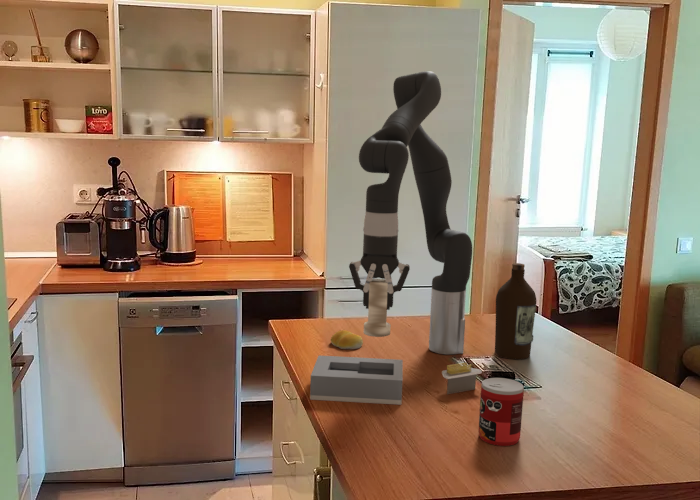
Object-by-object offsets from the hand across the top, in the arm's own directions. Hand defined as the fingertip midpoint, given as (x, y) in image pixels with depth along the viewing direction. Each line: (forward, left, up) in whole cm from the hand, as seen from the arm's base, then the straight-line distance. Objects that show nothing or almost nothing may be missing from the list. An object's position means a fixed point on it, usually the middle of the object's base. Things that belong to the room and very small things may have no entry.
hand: (377, 308), depth 151 cm
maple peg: (0, 0, -6) cm, 6 cm away
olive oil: (-36, -33, -20) cm, 53 cm away
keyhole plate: (+4, 0, -20) cm, 20 cm away
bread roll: (+9, -34, -20) cm, 41 cm away
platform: (-19, -4, -20) cm, 28 cm away
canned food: (-25, +21, -20) cm, 38 cm away
